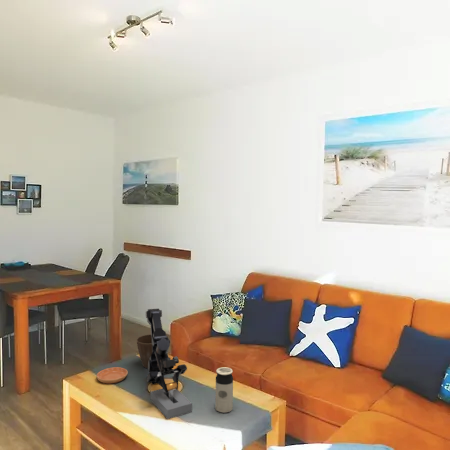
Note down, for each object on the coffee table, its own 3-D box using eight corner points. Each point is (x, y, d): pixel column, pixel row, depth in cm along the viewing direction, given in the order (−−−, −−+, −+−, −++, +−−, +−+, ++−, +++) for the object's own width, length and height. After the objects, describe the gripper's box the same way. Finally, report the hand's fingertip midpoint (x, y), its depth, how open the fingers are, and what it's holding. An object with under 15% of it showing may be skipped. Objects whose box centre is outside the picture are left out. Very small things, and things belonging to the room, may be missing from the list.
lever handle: (164, 403, 185) (164, 382, 184) (174, 400, 187) (174, 380, 187) (167, 406, 182) (167, 385, 182) (177, 403, 185) (177, 383, 184)
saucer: (90, 382, 208) (90, 377, 208) (108, 370, 223) (108, 365, 223) (116, 387, 203) (116, 381, 203) (133, 374, 218) (133, 369, 218)
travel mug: (220, 402, 188) (220, 365, 187) (235, 406, 185) (235, 368, 184) (212, 410, 181) (212, 372, 180) (228, 414, 178) (228, 375, 177)
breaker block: (150, 399, 191) (150, 391, 190) (173, 393, 197) (173, 385, 197) (167, 419, 174) (167, 409, 173) (191, 411, 180) (191, 402, 180)
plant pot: (151, 373, 219) (151, 345, 218) (130, 367, 226) (131, 340, 225) (168, 364, 232) (168, 337, 231) (148, 358, 239) (148, 332, 238)
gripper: (148, 355, 182) (158, 388, 173) (185, 347, 192) (196, 378, 183) (142, 365, 189) (151, 398, 180) (178, 358, 199) (188, 388, 190)
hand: (172, 390), depth 183 cm, fingers closed on lever handle, 5 cm apart
